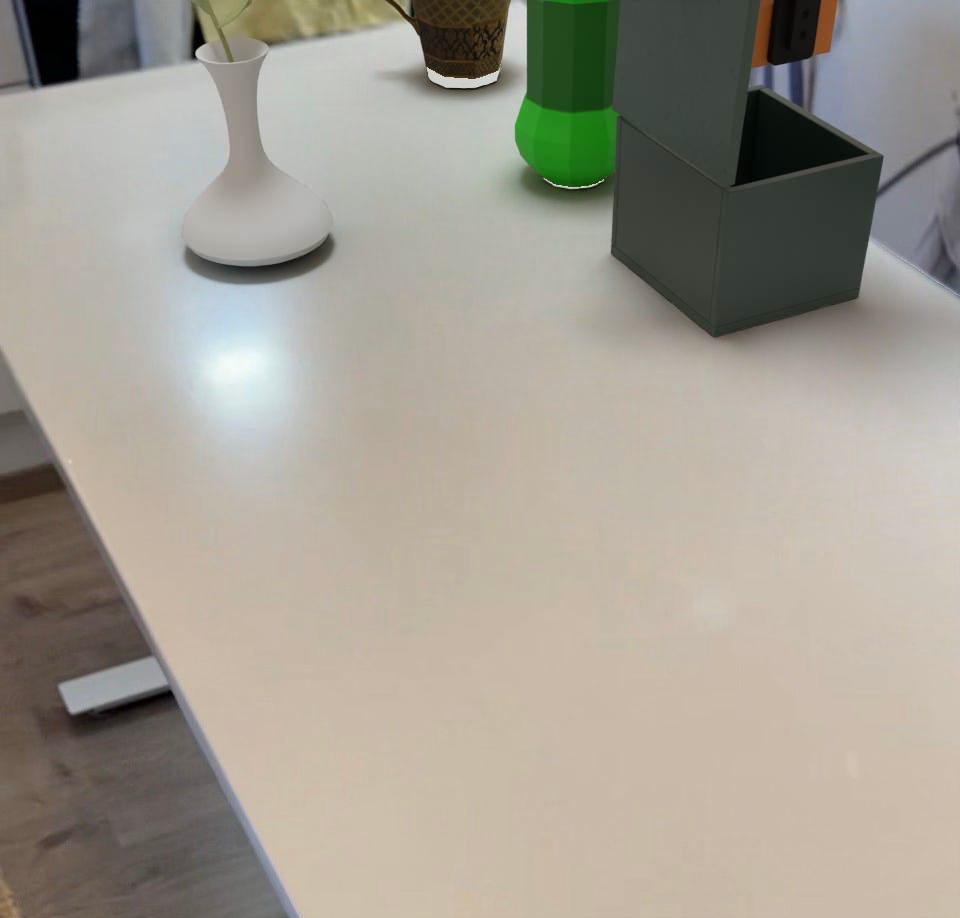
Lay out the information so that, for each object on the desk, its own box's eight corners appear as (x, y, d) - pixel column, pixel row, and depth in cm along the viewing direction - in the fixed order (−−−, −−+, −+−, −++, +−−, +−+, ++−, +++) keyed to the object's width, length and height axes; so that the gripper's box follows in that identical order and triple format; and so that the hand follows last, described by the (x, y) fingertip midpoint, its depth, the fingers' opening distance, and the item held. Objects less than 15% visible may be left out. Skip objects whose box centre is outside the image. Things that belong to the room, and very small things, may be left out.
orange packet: (789, 30, 93) (797, -31, 90) (830, 52, 90) (839, -10, 87) (699, 48, 91) (704, -13, 88) (738, 71, 88) (744, 8, 85)
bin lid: (639, -108, 87) (571, -101, 86) (767, -47, 78) (694, -37, 77) (621, 108, 96) (560, 118, 95) (735, 184, 88) (669, 197, 86)
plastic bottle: (664, 172, 113) (690, -203, 95) (577, 215, 108) (588, -173, 90) (572, 140, 118) (580, -223, 100) (485, 179, 113) (477, -195, 95)
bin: (746, 218, 107) (761, 83, 100) (858, 297, 98) (884, 155, 91) (610, 252, 104) (616, 115, 97) (713, 337, 95) (728, 193, 88)
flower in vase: (358, 261, 104) (321, -137, 86) (212, 295, 101) (141, -110, 82) (297, 195, 112) (251, -180, 94) (160, 226, 109) (85, -157, 91)
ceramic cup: (524, 58, 132) (523, -64, 124) (512, 98, 125) (510, -28, 117) (389, 55, 133) (380, -65, 126) (369, 95, 126) (359, -30, 119)
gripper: (963, -294, 73) (893, 80, 86) (780, -340, 83) (743, 0, 97) (843, -279, 71) (791, 102, 84) (671, -328, 81) (649, 18, 95)
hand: (766, 44), depth 90 cm, fingers closed on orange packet, 4 cm apart
